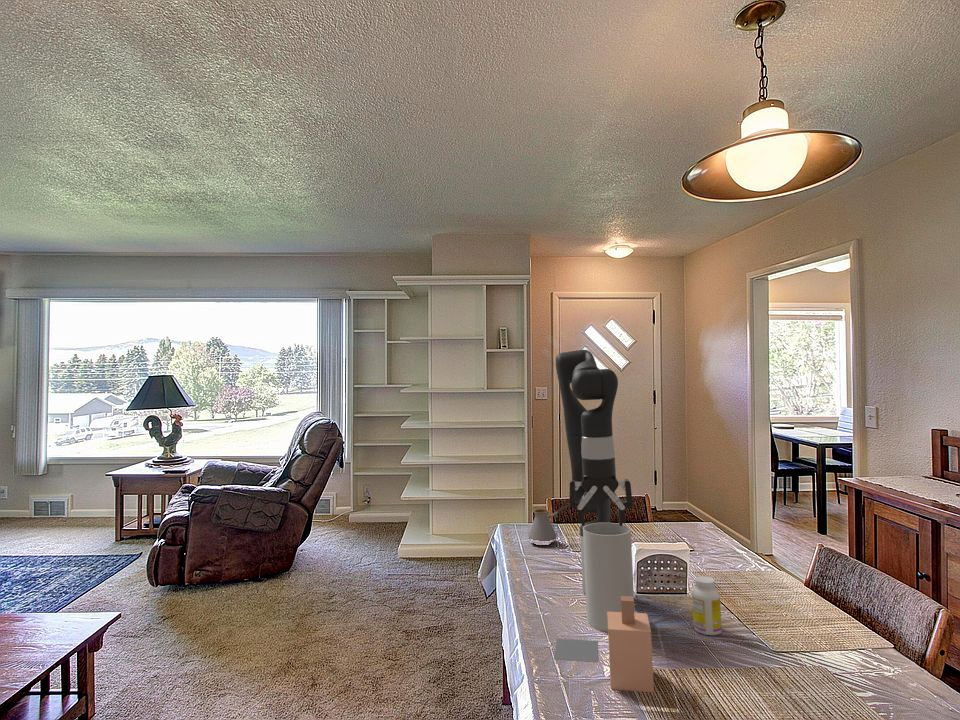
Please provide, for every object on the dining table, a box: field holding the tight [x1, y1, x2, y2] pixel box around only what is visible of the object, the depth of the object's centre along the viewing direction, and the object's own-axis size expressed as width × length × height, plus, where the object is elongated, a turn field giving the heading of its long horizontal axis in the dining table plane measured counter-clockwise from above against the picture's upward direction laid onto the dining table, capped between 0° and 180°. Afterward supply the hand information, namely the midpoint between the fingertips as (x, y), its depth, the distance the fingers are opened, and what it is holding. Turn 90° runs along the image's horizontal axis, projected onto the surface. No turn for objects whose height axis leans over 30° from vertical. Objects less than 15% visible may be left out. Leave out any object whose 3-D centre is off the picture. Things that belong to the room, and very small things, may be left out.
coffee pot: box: [527, 503, 570, 541], centre depth 215 cm, size 21×12×15 cm, turn 108°
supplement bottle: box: [691, 575, 723, 636], centre depth 136 cm, size 7×7×13 cm
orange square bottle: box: [607, 596, 655, 693], centre depth 114 cm, size 9×9×18 cm
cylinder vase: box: [583, 522, 636, 633], centre depth 142 cm, size 12×12×25 cm
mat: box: [553, 638, 599, 663], centre depth 127 cm, size 10×10×1 cm
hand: (601, 525), depth 123 cm, fingers open, 8 cm apart
